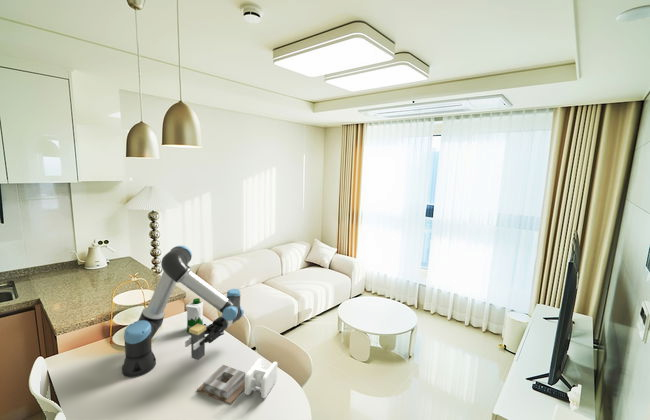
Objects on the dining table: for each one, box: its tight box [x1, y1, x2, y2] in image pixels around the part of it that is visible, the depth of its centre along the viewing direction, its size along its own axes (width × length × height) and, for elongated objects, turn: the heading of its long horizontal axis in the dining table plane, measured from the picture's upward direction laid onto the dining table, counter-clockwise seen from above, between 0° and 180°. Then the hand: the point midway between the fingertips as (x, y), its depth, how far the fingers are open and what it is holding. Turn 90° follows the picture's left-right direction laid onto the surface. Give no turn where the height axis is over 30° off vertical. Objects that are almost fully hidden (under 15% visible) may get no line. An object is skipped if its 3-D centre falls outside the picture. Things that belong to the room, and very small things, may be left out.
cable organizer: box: [244, 357, 278, 399], centre depth 144 cm, size 15×11×12 cm
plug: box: [188, 323, 206, 361], centre depth 148 cm, size 6×6×16 cm
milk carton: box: [185, 297, 204, 333], centre depth 190 cm, size 9×9×20 cm
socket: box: [196, 364, 246, 405], centre depth 145 cm, size 20×16×5 cm
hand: (189, 345), depth 143 cm, fingers closed on plug, 4 cm apart
